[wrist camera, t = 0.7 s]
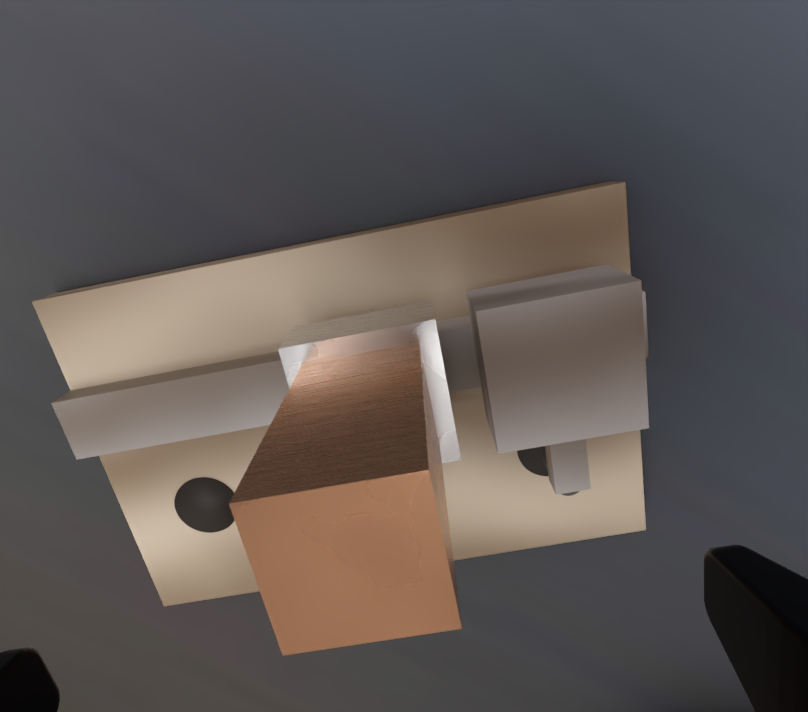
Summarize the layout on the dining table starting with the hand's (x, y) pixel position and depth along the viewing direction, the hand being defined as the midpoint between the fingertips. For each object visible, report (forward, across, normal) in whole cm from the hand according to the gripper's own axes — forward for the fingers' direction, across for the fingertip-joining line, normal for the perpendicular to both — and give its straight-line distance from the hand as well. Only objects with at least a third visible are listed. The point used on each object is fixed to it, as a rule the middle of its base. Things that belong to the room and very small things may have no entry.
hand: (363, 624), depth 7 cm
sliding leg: (+10, 0, +1) cm, 10 cm away
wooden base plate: (+12, +1, +2) cm, 12 cm away
